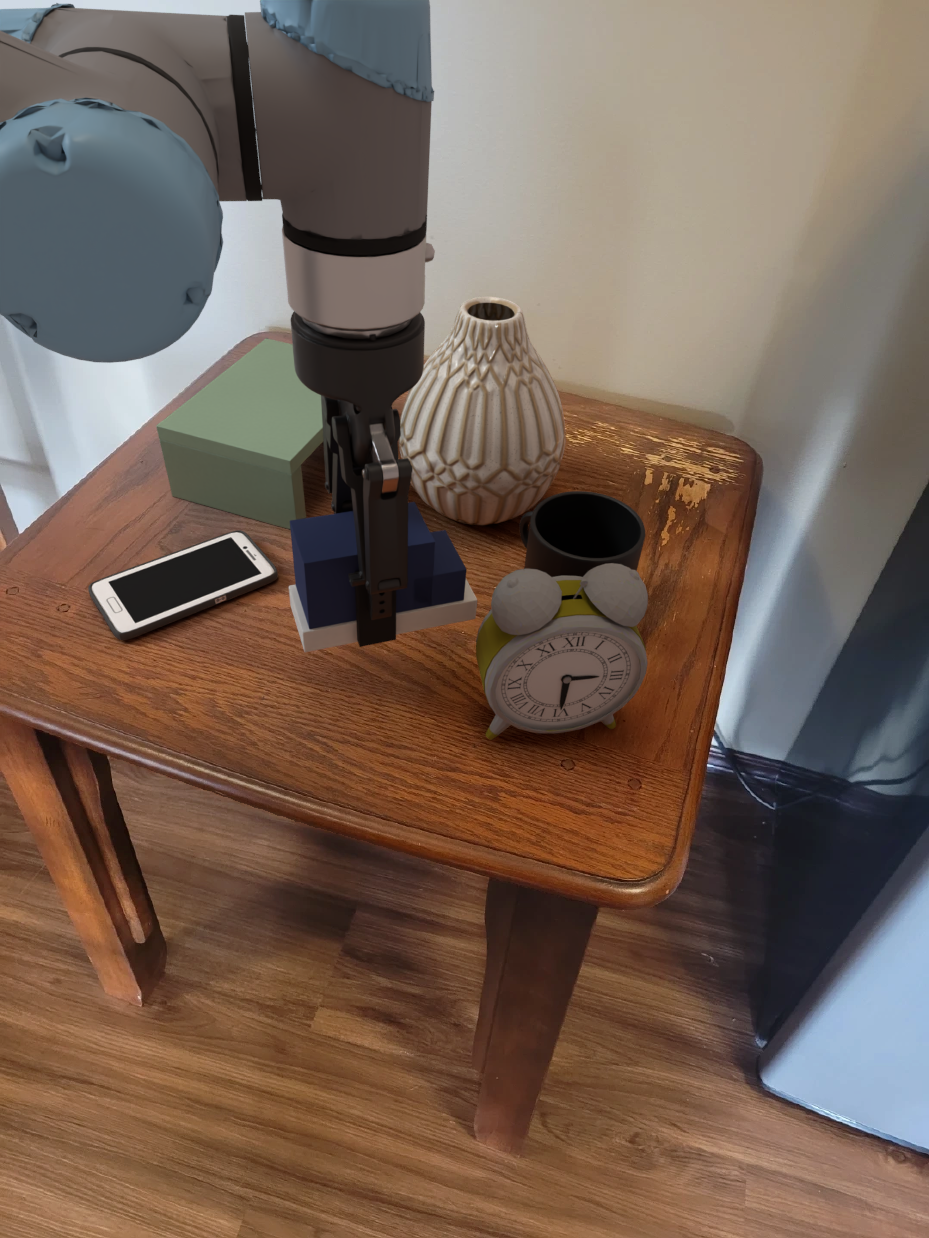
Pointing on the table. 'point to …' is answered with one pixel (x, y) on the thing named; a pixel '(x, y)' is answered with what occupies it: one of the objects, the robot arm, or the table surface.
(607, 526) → the mug
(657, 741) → the table surface
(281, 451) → the sage green footstool
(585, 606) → the alarm clock
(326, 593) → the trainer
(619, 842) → the table surface
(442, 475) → the vase
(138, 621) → the cell phone
